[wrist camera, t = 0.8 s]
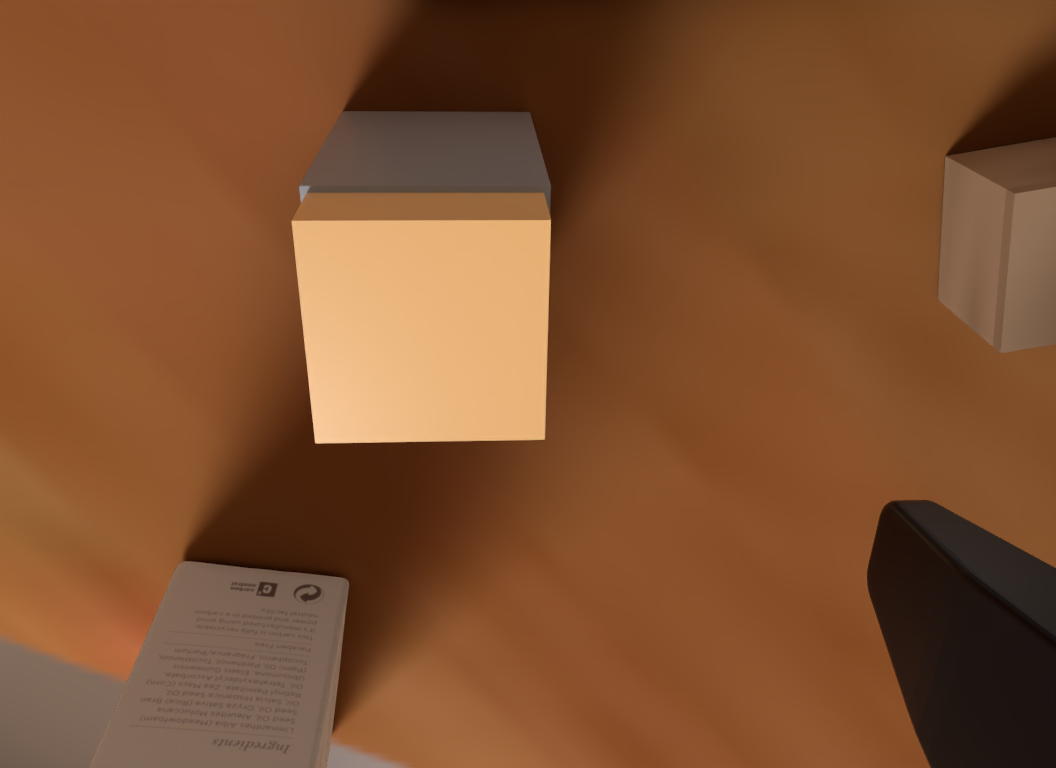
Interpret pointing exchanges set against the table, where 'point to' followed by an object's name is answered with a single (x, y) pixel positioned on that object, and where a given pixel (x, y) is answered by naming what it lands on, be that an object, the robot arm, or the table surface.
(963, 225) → the plain pale rectangular box
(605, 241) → the table surface
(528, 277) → the lidded cardboard box
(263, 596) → the skincare box
